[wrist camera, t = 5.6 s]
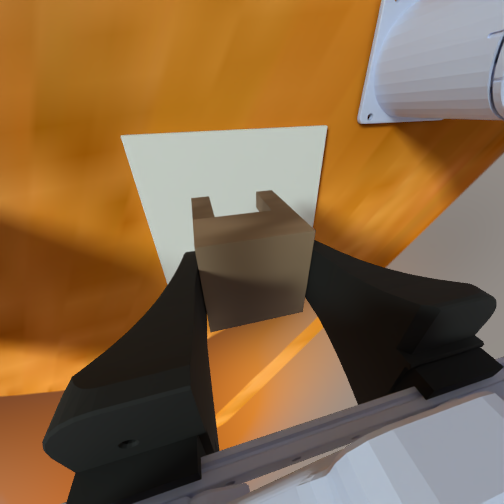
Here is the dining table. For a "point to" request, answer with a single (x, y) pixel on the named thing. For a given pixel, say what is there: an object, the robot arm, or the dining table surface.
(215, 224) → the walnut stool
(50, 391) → the dining table surface
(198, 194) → the grey mat
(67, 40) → the dining table surface
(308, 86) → the dining table surface
